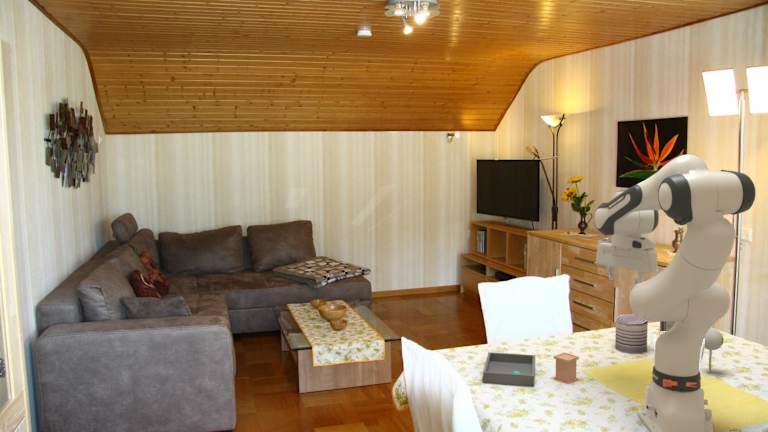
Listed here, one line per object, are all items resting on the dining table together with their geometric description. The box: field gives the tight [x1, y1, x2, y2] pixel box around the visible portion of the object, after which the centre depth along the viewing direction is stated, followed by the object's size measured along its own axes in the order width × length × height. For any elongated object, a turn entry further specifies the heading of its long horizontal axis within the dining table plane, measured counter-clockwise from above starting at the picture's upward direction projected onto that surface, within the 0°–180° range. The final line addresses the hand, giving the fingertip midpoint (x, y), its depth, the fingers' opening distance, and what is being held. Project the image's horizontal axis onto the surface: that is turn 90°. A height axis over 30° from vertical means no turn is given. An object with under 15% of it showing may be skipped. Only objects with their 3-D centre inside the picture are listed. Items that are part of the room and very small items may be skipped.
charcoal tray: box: [482, 351, 536, 387], centre depth 211 cm, size 20×16×4 cm
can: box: [614, 313, 649, 355], centre depth 233 cm, size 11×11×12 cm
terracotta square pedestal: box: [553, 352, 580, 385], centre depth 205 cm, size 6×6×8 cm
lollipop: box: [704, 327, 724, 374], centre depth 208 cm, size 7×7×15 cm
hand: (624, 282), depth 205 cm, fingers open, 8 cm apart
